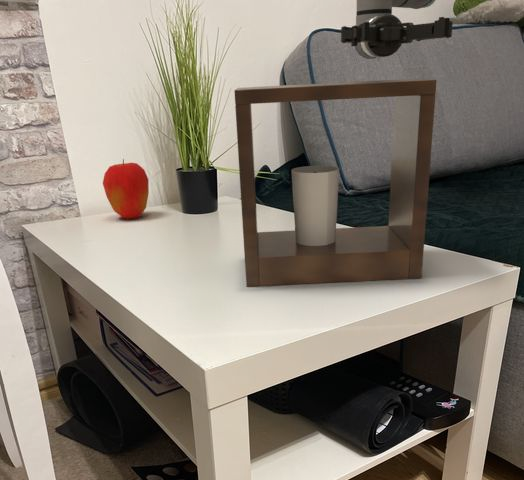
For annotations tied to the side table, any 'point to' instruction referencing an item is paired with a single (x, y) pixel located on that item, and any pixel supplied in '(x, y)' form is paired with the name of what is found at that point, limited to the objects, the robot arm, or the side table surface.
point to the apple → (127, 189)
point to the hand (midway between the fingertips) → (406, 28)
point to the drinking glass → (315, 204)
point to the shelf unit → (347, 239)
